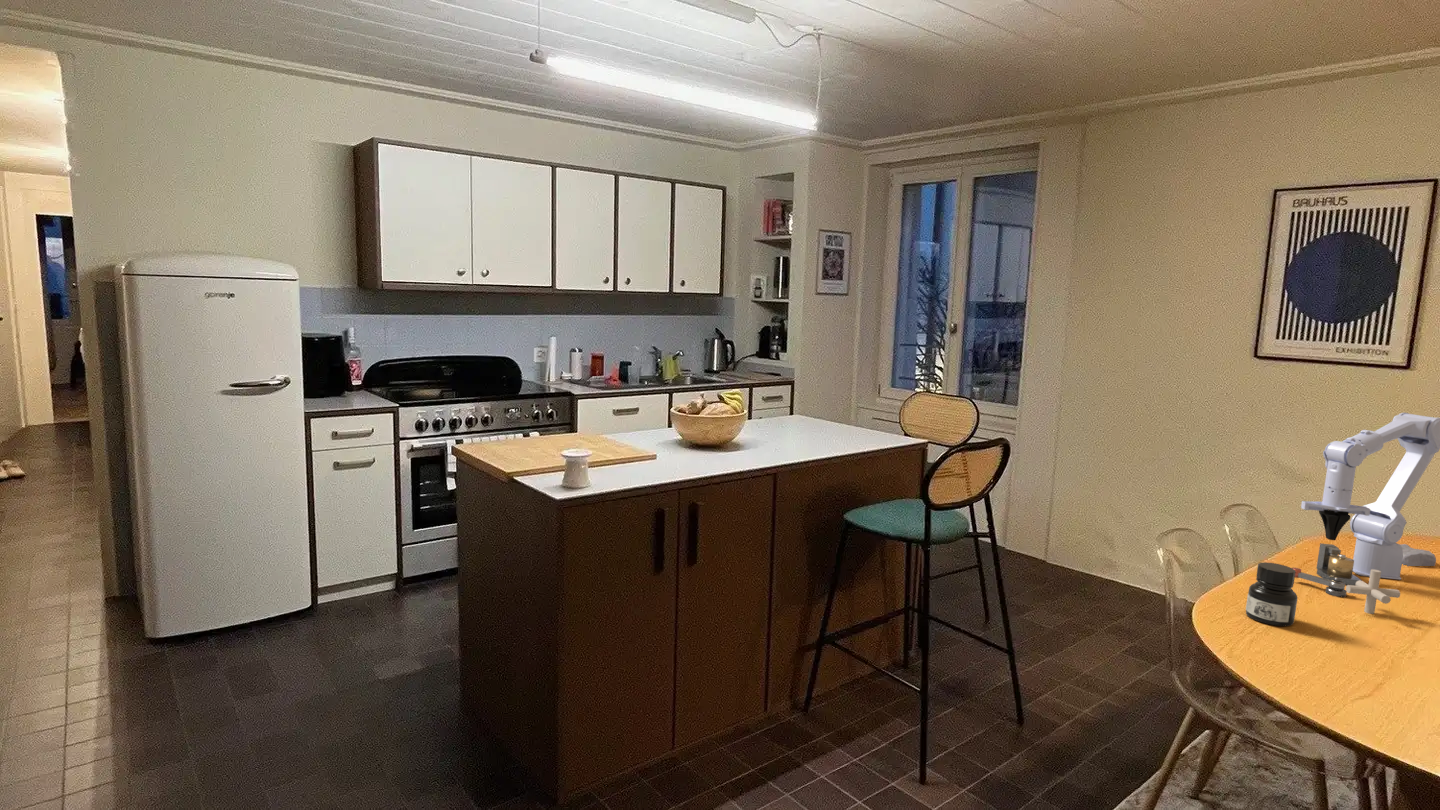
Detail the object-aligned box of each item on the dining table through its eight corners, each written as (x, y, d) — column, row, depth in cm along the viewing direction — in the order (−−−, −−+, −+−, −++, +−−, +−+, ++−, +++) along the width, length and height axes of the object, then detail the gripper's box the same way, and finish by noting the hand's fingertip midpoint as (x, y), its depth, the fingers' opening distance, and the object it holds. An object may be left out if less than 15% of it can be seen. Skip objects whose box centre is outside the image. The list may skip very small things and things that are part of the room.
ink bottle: (1235, 615, 177) (1242, 563, 176) (1254, 607, 182) (1261, 557, 180) (1284, 631, 169) (1292, 577, 168) (1303, 623, 174) (1311, 571, 172)
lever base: (1340, 592, 195) (1343, 576, 194) (1349, 598, 191) (1351, 582, 190) (1322, 590, 196) (1324, 574, 195) (1330, 595, 192) (1332, 580, 191)
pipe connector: (1408, 623, 176) (1415, 580, 175) (1357, 618, 178) (1364, 575, 177) (1380, 606, 186) (1387, 565, 185) (1332, 601, 188) (1339, 561, 186)
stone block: (1405, 573, 217) (1440, 567, 217) (1404, 557, 216) (1439, 550, 216) (1367, 560, 228) (1401, 554, 229) (1366, 544, 228) (1399, 538, 228)
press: (1337, 570, 211) (1341, 545, 210) (1361, 586, 199) (1365, 559, 198) (1307, 567, 213) (1311, 542, 212) (1329, 582, 201) (1333, 556, 200)
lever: (1293, 574, 202) (1294, 566, 202) (1346, 589, 192) (1347, 581, 192) (1288, 576, 200) (1289, 568, 200) (1340, 591, 191) (1342, 583, 191)
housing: (1346, 572, 205) (1349, 553, 204) (1355, 578, 200) (1358, 559, 200) (1324, 569, 207) (1326, 550, 206) (1331, 575, 202) (1334, 556, 201)
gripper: (1313, 488, 201) (1305, 540, 203) (1379, 494, 198) (1371, 546, 199) (1300, 482, 208) (1293, 532, 210) (1364, 488, 204) (1357, 538, 206)
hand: (1330, 539), depth 205 cm, fingers closed
